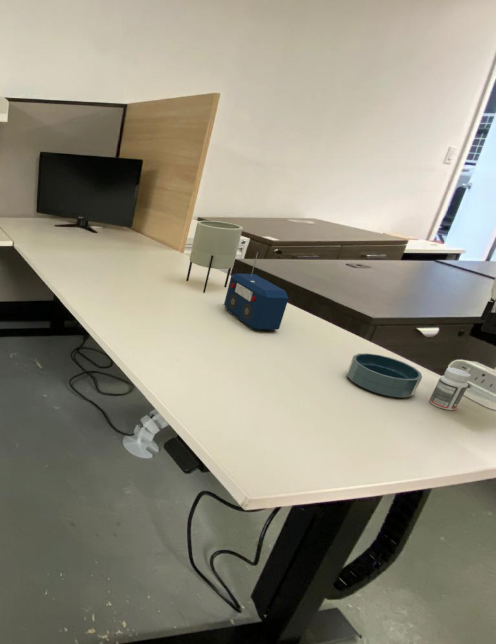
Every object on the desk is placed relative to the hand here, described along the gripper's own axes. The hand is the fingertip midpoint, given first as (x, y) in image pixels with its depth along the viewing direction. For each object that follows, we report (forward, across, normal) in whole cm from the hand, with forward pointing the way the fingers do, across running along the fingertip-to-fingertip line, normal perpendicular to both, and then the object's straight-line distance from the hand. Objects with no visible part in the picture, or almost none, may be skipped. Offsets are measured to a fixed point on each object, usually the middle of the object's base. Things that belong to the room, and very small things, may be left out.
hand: (490, 326), depth 94 cm
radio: (+18, +20, +50) cm, 57 cm away
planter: (+17, +43, +73) cm, 87 cm away
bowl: (+19, +1, +14) cm, 23 cm away
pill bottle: (+20, +1, +2) cm, 20 cm away
